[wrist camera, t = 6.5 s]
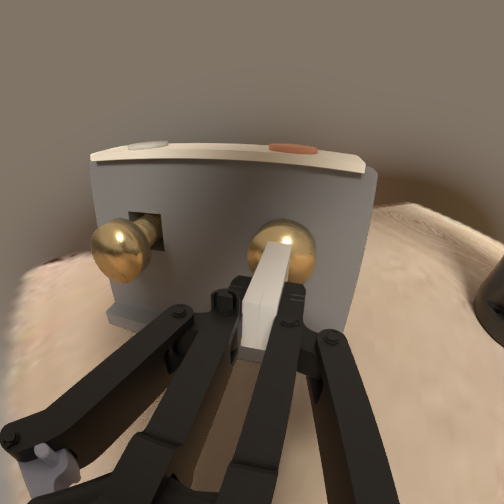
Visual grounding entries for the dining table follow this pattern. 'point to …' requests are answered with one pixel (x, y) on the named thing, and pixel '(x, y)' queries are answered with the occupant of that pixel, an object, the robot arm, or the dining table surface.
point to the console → (233, 221)
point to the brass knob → (288, 234)
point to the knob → (126, 246)
